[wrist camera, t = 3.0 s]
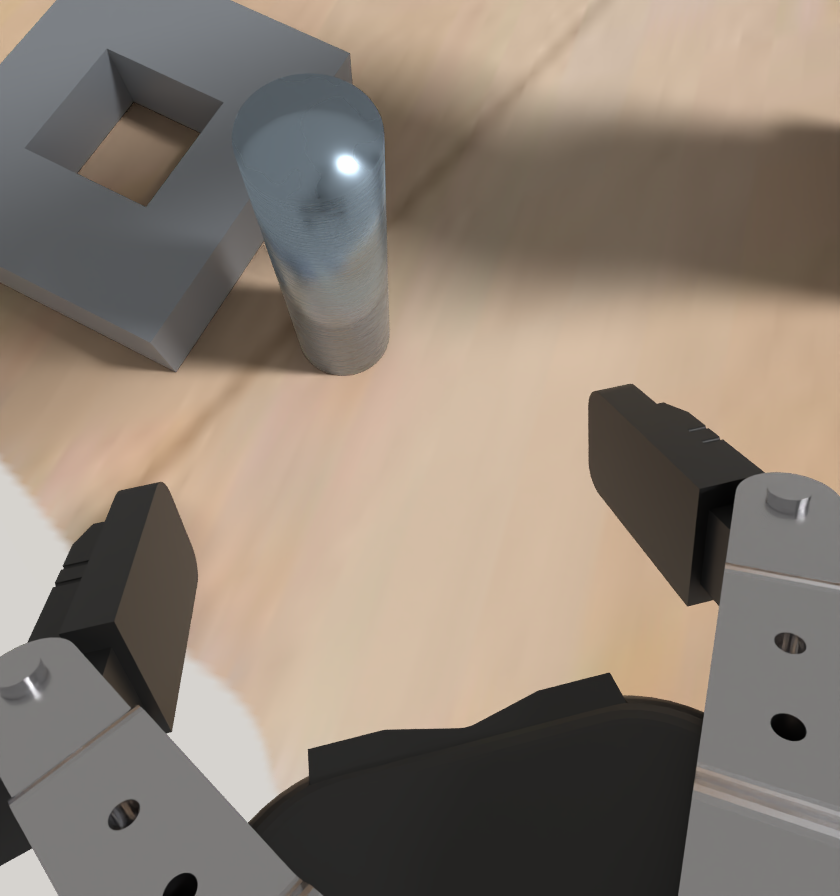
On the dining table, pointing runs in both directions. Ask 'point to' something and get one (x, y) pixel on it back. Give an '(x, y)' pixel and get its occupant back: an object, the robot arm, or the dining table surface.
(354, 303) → the steel pin
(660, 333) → the dining table surface
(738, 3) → the dining table surface
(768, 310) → the dining table surface
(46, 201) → the socket stand
